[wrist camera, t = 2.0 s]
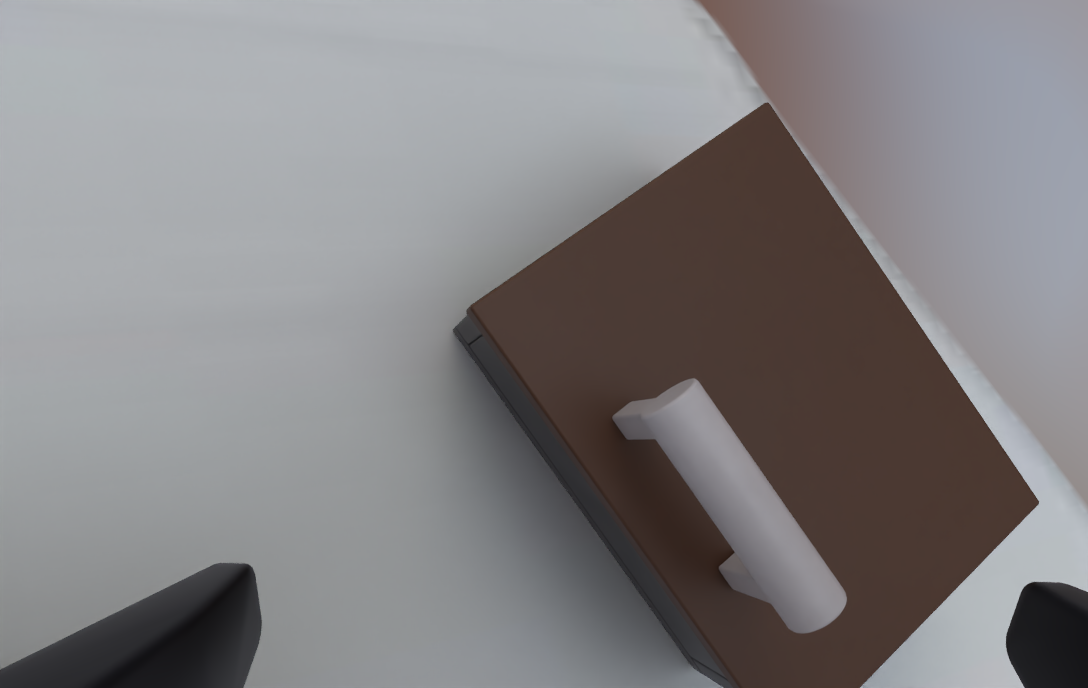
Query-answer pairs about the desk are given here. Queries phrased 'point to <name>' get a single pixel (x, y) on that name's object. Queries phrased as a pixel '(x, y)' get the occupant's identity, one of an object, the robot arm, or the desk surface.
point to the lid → (759, 413)
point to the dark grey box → (587, 501)
